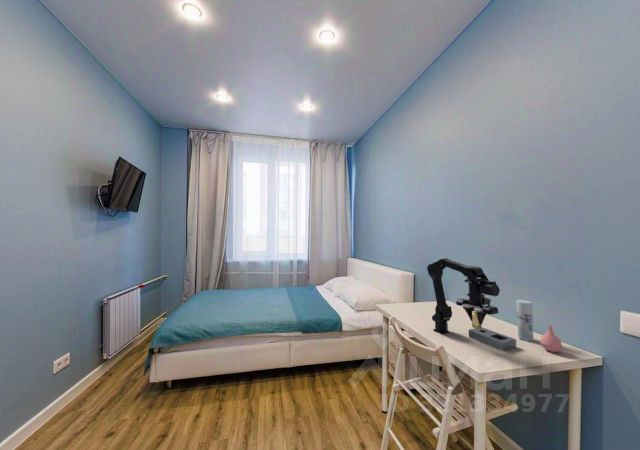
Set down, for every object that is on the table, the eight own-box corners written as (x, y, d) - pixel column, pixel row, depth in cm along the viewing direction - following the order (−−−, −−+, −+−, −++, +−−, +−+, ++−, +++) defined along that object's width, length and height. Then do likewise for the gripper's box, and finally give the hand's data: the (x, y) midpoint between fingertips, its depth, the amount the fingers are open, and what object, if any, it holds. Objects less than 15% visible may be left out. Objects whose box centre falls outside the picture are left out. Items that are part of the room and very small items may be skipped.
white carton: (524, 335, 137) (522, 299, 137) (537, 340, 130) (535, 302, 131) (515, 337, 135) (513, 300, 136) (527, 342, 129) (525, 303, 129)
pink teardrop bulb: (549, 346, 123) (548, 322, 124) (567, 354, 116) (565, 328, 116) (536, 348, 122) (535, 323, 123) (553, 355, 115) (551, 329, 115)
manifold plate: (503, 351, 120) (502, 342, 120) (468, 337, 136) (468, 329, 137) (516, 347, 123) (515, 339, 124) (481, 334, 140) (481, 326, 140)
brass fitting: (477, 329, 122) (477, 312, 123) (470, 326, 126) (469, 310, 126) (483, 327, 124) (482, 311, 124) (475, 325, 128) (475, 309, 128)
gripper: (505, 294, 120) (506, 326, 119) (469, 286, 137) (470, 315, 137) (489, 296, 116) (491, 330, 115) (454, 289, 133) (456, 318, 133)
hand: (476, 323), depth 125 cm, fingers closed on brass fitting, 4 cm apart
